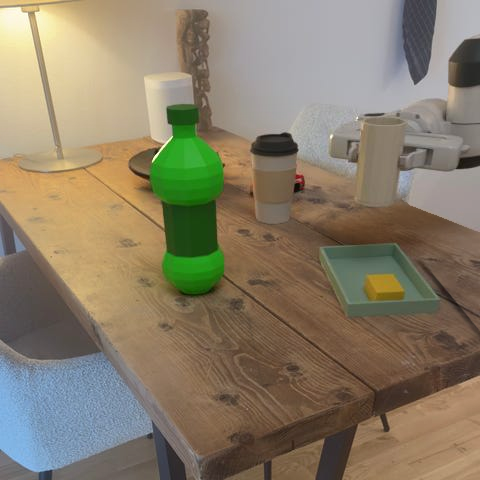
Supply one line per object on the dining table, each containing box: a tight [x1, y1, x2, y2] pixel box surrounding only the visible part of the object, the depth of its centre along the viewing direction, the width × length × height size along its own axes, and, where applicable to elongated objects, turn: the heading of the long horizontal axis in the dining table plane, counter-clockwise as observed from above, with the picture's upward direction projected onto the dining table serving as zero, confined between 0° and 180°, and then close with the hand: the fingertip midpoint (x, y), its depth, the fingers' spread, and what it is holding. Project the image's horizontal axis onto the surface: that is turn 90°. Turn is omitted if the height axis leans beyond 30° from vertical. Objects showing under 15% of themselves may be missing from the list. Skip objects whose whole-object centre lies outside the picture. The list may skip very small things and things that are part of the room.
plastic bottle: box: [149, 103, 226, 295], centre depth 81 cm, size 10×10×25 cm
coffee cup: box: [249, 131, 299, 225], centre depth 108 cm, size 9×9×15 cm
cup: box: [353, 116, 408, 208], centre depth 83 cm, size 6×6×11 cm
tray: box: [318, 242, 441, 318], centre depth 87 cm, size 21×13×3 cm, turn 4°
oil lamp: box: [127, 145, 226, 182], centre depth 130 cm, size 22×30×8 cm
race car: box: [249, 172, 306, 195], centre depth 125 cm, size 13×5×4 cm, turn 118°
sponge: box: [364, 274, 405, 301], centre depth 82 cm, size 6×4×2 cm, turn 4°
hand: (377, 159), depth 82 cm, fingers closed on cup, 6 cm apart
